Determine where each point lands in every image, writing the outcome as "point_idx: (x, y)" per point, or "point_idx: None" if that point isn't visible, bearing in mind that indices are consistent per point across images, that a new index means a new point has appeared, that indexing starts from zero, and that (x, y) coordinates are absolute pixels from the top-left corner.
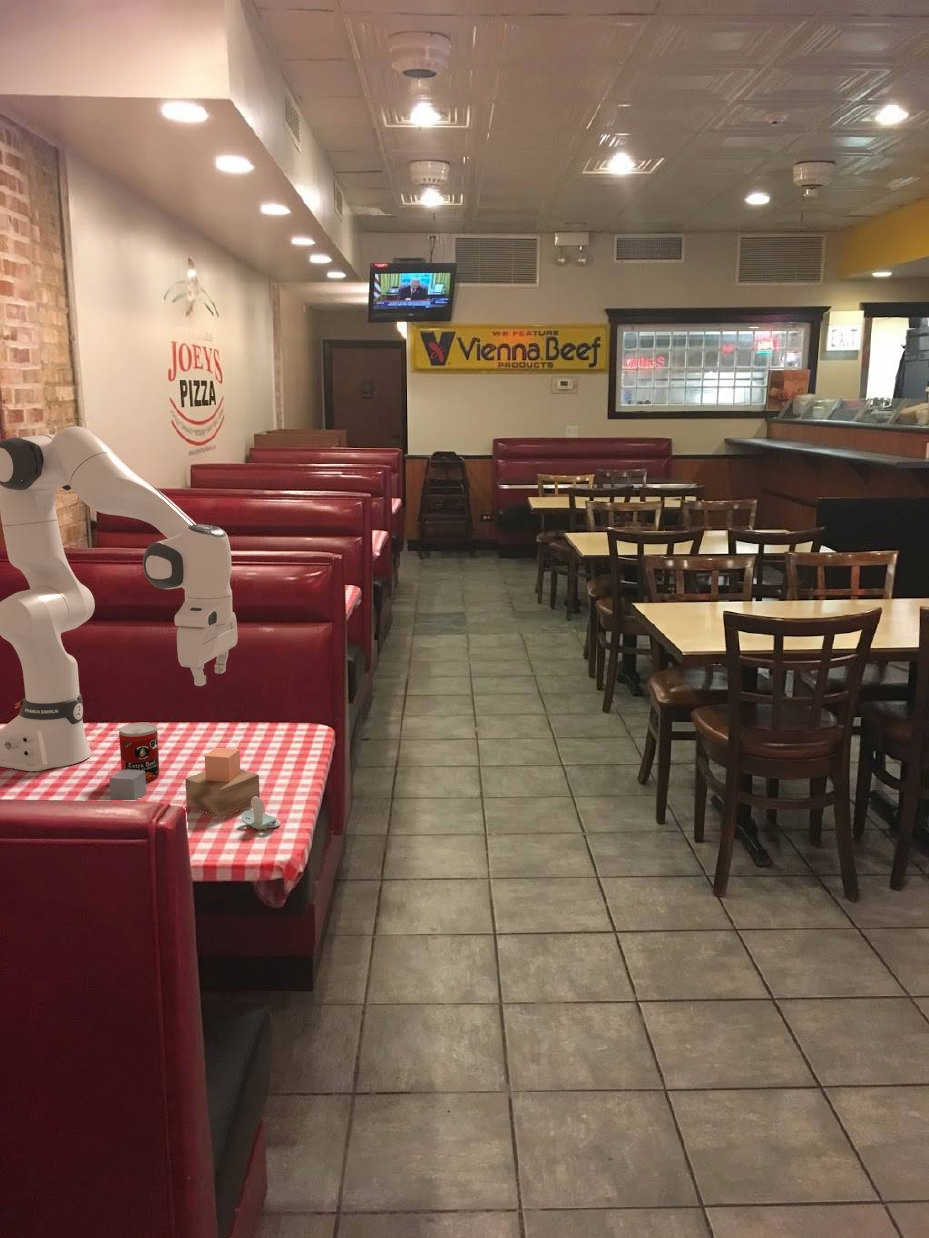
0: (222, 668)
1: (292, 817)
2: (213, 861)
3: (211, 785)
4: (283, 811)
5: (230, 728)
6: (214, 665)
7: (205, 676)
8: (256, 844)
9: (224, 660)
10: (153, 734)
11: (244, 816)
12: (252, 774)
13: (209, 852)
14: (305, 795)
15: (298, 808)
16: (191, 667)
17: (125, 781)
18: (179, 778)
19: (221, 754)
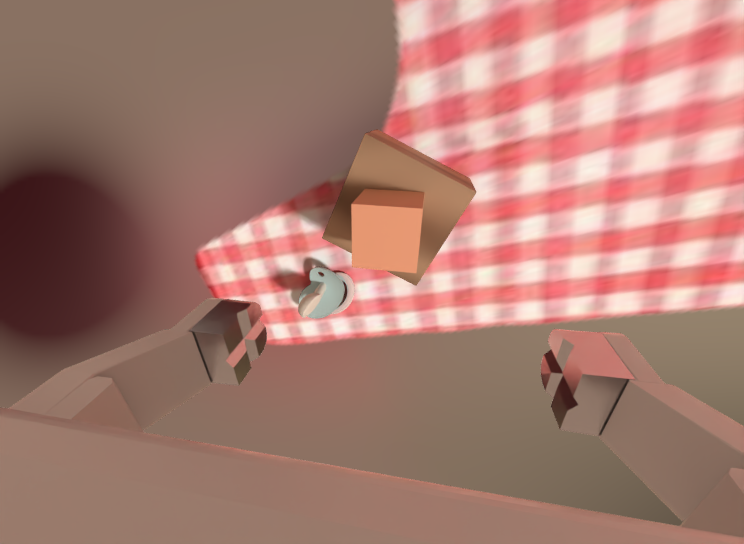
0: (551, 404)
1: (366, 320)
2: (208, 260)
3: (339, 213)
4: (386, 304)
5: None
6: (577, 369)
7: (233, 380)
8: (271, 297)
9: (639, 467)
10: None
11: (320, 270)
12: (416, 273)
13: (227, 246)
14: (457, 321)
15: (401, 321)
16: (47, 390)
17: None
18: (557, 9)
19: (370, 243)
